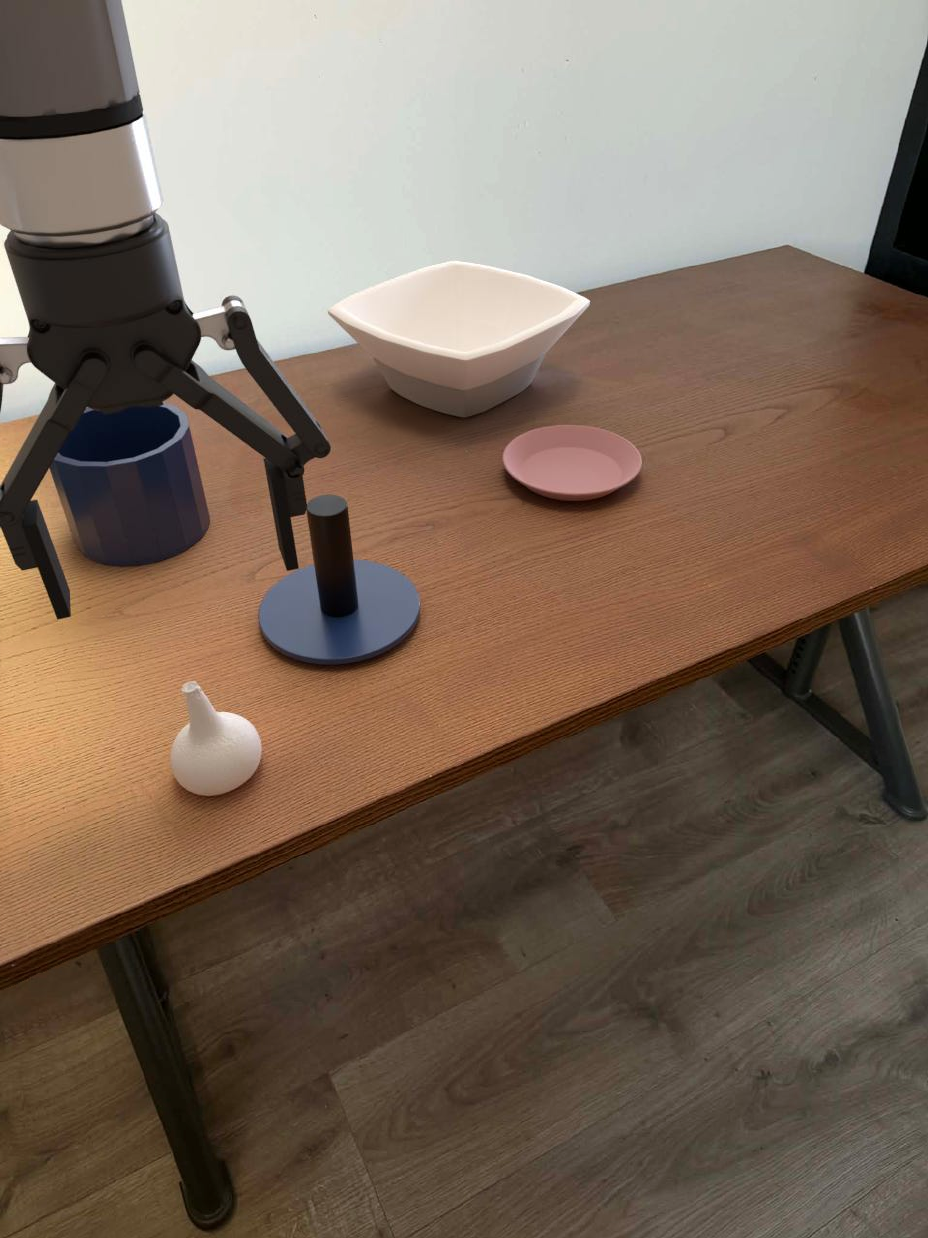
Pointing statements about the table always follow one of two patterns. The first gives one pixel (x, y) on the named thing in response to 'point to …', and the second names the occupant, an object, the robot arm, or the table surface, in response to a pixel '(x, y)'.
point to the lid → (337, 598)
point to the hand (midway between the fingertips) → (179, 581)
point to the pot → (131, 485)
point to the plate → (572, 462)
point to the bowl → (459, 332)
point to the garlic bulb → (213, 747)
